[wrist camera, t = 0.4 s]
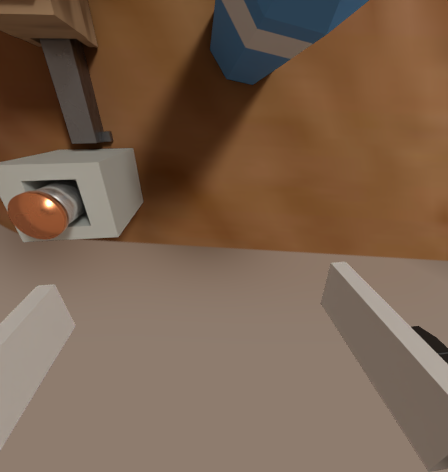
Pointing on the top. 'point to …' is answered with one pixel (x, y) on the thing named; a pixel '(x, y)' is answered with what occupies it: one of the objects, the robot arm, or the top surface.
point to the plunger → (46, 209)
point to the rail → (74, 90)
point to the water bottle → (270, 32)
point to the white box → (81, 187)
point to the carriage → (47, 20)
